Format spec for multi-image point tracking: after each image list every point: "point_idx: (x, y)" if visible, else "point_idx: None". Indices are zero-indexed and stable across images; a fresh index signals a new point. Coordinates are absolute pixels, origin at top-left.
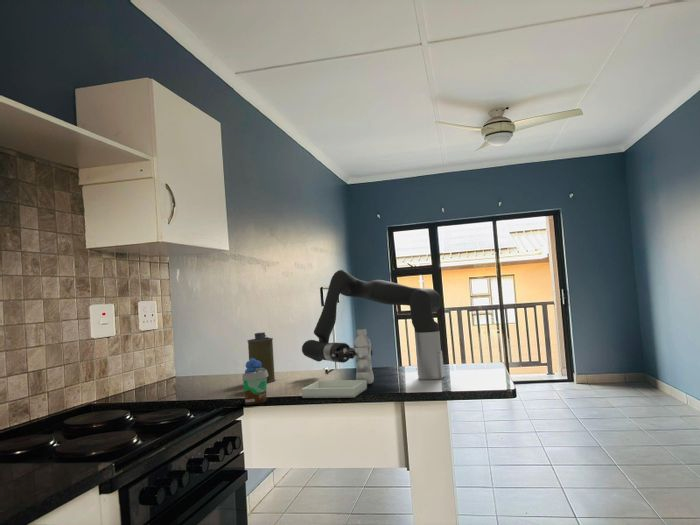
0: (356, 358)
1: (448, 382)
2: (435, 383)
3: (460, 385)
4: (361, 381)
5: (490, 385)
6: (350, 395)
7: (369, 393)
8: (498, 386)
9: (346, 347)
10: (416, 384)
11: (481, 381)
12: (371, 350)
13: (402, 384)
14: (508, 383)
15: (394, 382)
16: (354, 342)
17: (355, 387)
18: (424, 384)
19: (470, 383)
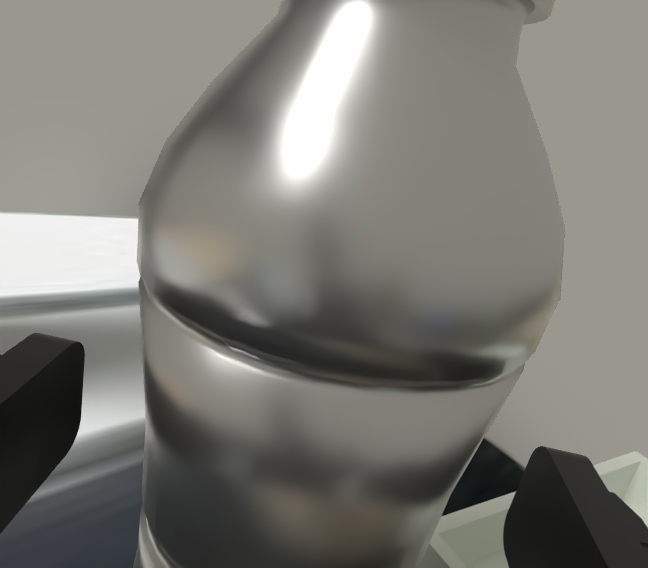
0: (432, 534)
1: (31, 299)
2: (66, 327)
3: (112, 272)
4: (455, 565)
5: (99, 232)
6: (638, 502)
7: (480, 483)
8: (115, 225)
9: None
10: (111, 380)
11: (5, 242)
12: (60, 341)
13: (124, 441)
14: (54, 213)
15: (24, 528)
16: (564, 232)
17: (608, 463)
18: (105, 354)
19: (59, 257)
